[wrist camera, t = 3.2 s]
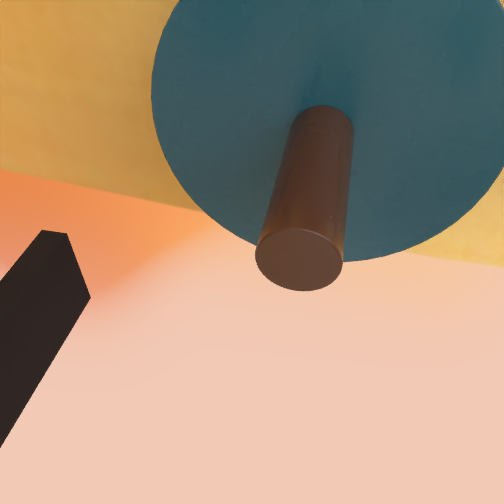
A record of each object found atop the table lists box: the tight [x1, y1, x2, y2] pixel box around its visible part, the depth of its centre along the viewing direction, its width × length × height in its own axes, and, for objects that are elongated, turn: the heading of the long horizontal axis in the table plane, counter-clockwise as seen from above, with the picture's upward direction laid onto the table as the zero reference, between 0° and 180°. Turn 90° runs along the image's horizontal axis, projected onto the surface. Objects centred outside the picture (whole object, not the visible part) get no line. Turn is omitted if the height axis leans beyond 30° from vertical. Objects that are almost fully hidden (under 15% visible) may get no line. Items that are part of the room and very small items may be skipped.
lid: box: [151, 0, 504, 291], centre depth 17 cm, size 15×15×9 cm
